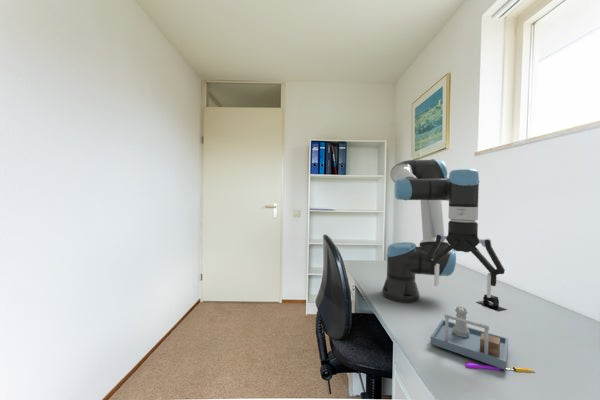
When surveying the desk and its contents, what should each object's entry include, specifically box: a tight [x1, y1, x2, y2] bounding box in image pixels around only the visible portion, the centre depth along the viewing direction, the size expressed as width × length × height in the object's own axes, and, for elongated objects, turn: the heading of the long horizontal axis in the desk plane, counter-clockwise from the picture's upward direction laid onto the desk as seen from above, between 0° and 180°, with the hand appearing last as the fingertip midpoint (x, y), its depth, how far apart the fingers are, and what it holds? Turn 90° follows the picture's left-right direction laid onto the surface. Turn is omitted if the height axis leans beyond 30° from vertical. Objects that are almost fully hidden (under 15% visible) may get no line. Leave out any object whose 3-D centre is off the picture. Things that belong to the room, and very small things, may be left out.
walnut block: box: [480, 333, 500, 358], centre depth 68 cm, size 4×4×4 cm
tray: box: [430, 313, 509, 371], centre depth 73 cm, size 14×17×10 cm
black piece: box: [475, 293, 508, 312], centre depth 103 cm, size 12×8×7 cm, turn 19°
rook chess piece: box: [453, 306, 470, 338], centre depth 77 cm, size 4×4×8 cm
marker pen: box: [464, 361, 536, 374], centre depth 65 cm, size 3×1×16 cm
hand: (461, 290), depth 78 cm, fingers open, 13 cm apart
